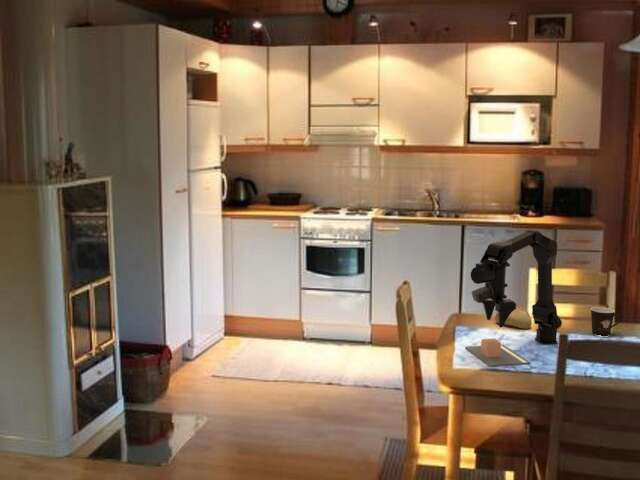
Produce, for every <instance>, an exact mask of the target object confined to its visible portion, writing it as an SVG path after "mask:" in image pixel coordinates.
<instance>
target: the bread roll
mask: <svg viewBox="0 0 640 480" xmlns="http://www.w3.org/2000/svg"><path fill="white" fill-rule="evenodd" d="M494 321H495V322H496V323H497V324H499V321H498V312H497V311H496V314H495V316H494ZM504 325H505V326H506V325H507V326H510V327H515V328H520V329H523V330H527V329H528V330H529V329H530V328H531V326H532V317H531V315H530V313H529V311H528V310H527V309H526V308H524V307H521V306H517V305H516V310H514V311H512V312H511V314H510V315H509V317H508V318H507V320H506V322H505V324H504Z"/></svg>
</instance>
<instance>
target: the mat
mask: <svg viewBox="0 0 640 480" xmlns="http://www.w3.org/2000/svg"><path fill="white" fill-rule="evenodd" d="M464 349H465V350H466V351H468V352H469V351H470V352H469V353H471V354H472V355H474V356H475V357H476V358H478V359H479V360H481V361H482V362H483V363H484V364H486V365H487V366H488V367H490V368H492V367H504V366H505V367H507V366H517V365H518V366H519V365H520V366H521V365H531V361H529V360H528V359H526V358H525V357H523V356H521V355H520V354H519V353H517V352H515V351H514V350H512V349H511V348H509V347H508V346H506V345H504V344H503V343H501V352H500V357H486V356H484V355H483V354H482V353H481V345H472V346H464Z"/></svg>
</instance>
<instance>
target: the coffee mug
mask: <svg viewBox="0 0 640 480" xmlns="http://www.w3.org/2000/svg"><path fill="white" fill-rule="evenodd" d="M615 311H616V310H615V309H612V308H608V307H603V306H595V307H591V308H590V315H591V316H590V317H591V318H590V319H591V334H592V333H593V334H596V335H601V336H608V335H610V336H611V332H612V331H611V330H612V328H614V327H615V326H617V325H618V324H620V323H621V322H622V321H623V315H622V314H621V313H620V312H615ZM617 315H618V316H619V315H620V319H619V320H618V321H617V322H616V323H614V324H613V321H614V317H615V316H617Z"/></svg>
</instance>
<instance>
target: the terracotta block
mask: <svg viewBox="0 0 640 480" xmlns="http://www.w3.org/2000/svg"><path fill="white" fill-rule="evenodd" d="M501 345H502V342H500V341H499V340H498V339H496V338H481V342H480V346H481V353H482V354H483V355H484V356H486V357H500V352H501Z"/></svg>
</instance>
